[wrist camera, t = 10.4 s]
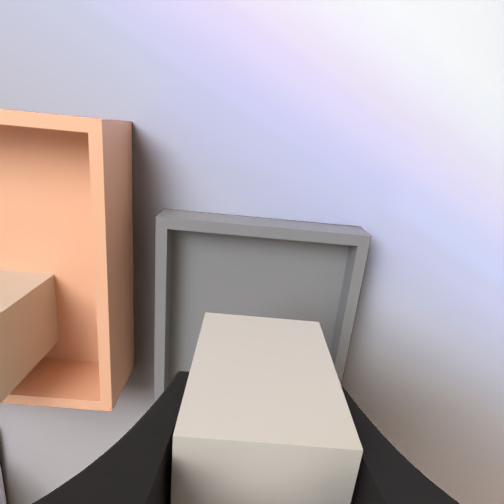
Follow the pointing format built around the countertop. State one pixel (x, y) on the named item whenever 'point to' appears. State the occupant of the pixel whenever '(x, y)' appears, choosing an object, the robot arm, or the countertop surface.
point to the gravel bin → (72, 248)
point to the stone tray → (251, 279)
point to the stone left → (25, 324)
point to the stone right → (263, 418)
